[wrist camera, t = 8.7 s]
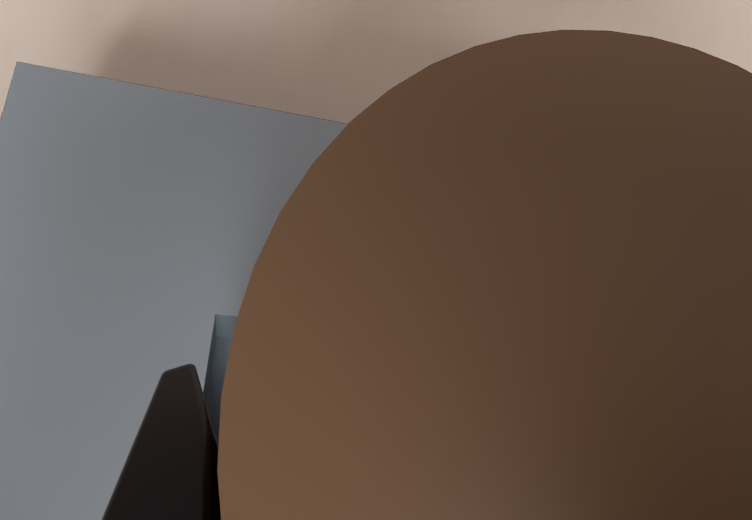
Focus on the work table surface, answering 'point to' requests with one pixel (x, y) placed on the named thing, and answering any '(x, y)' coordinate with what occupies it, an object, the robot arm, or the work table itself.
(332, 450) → the pin
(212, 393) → the hole block
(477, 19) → the work table surface
